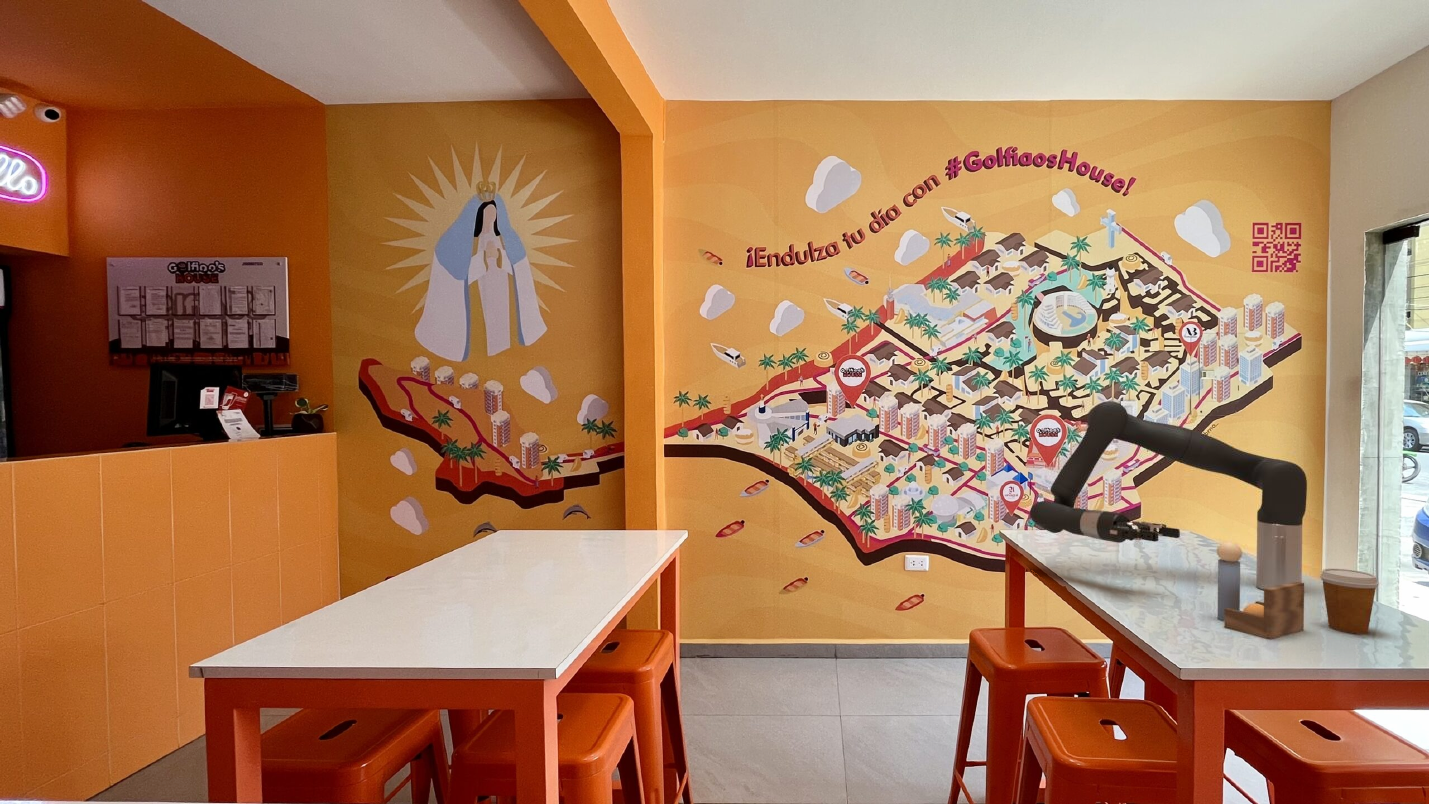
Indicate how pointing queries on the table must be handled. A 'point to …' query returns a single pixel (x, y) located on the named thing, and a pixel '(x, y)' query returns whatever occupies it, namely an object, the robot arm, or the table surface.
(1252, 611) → the ball
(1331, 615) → the disposable coffee cup
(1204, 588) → the table surface
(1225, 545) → the player figure
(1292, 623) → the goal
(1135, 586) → the table surface
